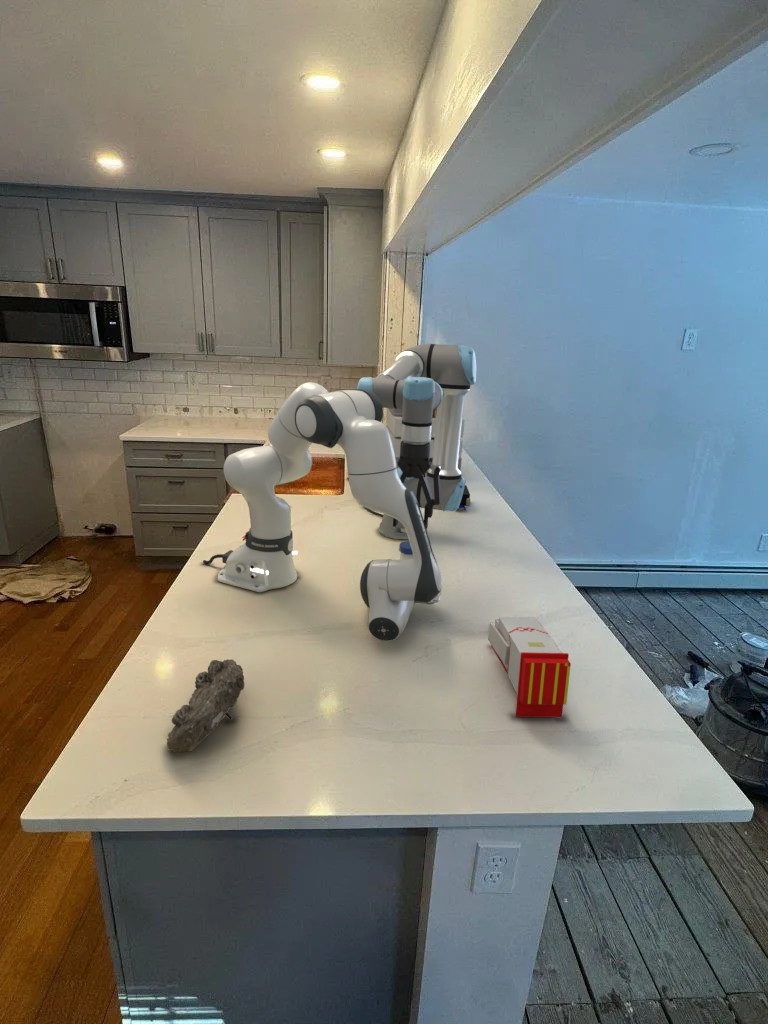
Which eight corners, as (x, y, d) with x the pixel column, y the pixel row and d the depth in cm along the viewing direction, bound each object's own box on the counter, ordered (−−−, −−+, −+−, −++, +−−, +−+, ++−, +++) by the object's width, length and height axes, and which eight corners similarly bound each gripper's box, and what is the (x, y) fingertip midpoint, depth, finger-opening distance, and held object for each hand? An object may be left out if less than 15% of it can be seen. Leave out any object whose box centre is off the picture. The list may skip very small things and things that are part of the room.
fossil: (192, 660, 117) (244, 628, 112) (224, 691, 120) (276, 661, 115) (142, 746, 98) (202, 712, 93) (182, 779, 101) (242, 748, 96)
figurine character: (470, 515, 225) (465, 499, 238) (472, 498, 221) (467, 483, 235) (453, 515, 224) (449, 499, 238) (455, 497, 221) (451, 482, 234)
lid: (400, 554, 149) (400, 548, 148) (397, 546, 153) (398, 541, 153) (420, 554, 149) (420, 548, 149) (416, 546, 154) (417, 541, 154)
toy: (534, 602, 136) (579, 659, 107) (529, 653, 139) (572, 723, 110) (484, 601, 136) (516, 658, 107) (480, 652, 139) (510, 722, 109)
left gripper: (439, 592, 139) (446, 569, 152) (359, 581, 143) (372, 559, 156) (437, 615, 141) (444, 590, 154) (358, 603, 145) (371, 579, 158)
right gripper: (457, 441, 143) (450, 526, 150) (379, 434, 147) (376, 517, 154) (454, 448, 136) (446, 536, 144) (372, 440, 140) (369, 526, 148)
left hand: (407, 574), depth 155 cm, fingers closed on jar, 4 cm apart
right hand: (410, 526), depth 149 cm, fingers open, 7 cm apart
